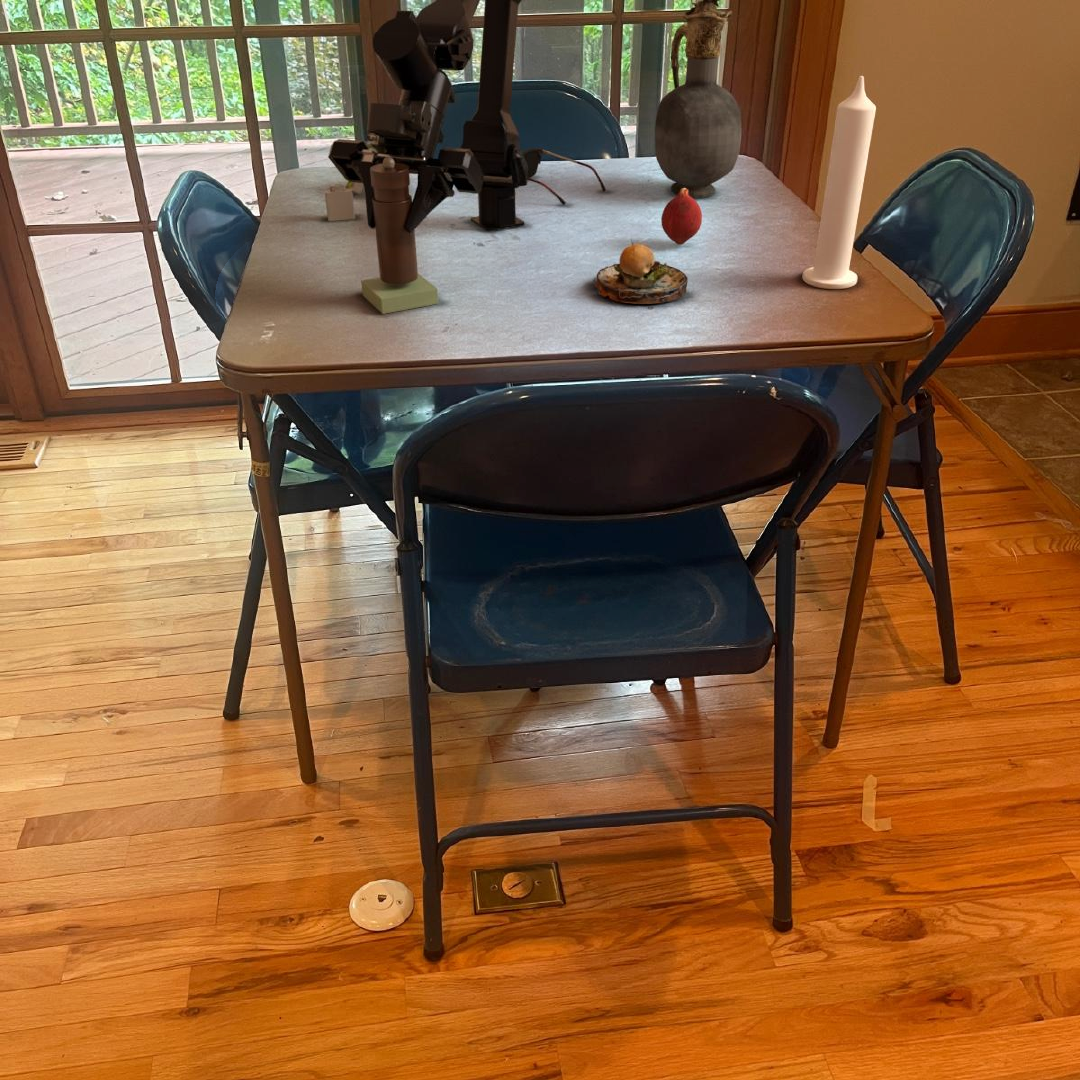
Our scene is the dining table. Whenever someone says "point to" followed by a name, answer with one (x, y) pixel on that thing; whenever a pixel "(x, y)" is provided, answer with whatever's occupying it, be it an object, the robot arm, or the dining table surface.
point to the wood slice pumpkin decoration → (641, 278)
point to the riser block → (399, 294)
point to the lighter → (341, 201)
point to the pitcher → (698, 109)
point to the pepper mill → (393, 222)
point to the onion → (681, 218)
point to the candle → (843, 192)
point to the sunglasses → (535, 158)
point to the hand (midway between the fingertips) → (389, 229)
